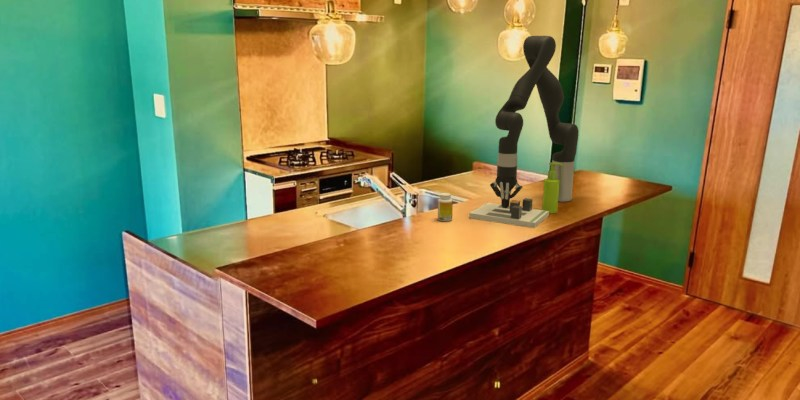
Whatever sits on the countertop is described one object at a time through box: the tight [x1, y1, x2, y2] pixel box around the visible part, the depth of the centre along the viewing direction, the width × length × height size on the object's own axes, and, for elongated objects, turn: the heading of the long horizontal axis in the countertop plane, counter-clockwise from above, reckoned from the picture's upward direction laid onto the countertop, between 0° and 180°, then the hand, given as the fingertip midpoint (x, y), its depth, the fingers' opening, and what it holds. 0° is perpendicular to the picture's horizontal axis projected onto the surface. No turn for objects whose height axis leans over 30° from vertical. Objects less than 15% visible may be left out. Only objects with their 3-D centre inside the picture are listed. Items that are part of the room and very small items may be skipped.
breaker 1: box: [511, 205, 522, 219], centre depth 210 cm, size 3×3×4 cm
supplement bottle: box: [437, 192, 454, 223], centre depth 214 cm, size 6×6×10 cm
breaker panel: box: [468, 202, 550, 229], centre depth 219 cm, size 18×26×2 cm
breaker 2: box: [522, 198, 533, 211], centre depth 221 cm, size 3×3×4 cm
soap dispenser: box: [541, 162, 563, 214], centre depth 224 cm, size 6×7×20 cm
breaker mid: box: [509, 199, 521, 213], centre depth 217 cm, size 3×3×4 cm
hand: (505, 207), depth 219 cm, fingers closed
